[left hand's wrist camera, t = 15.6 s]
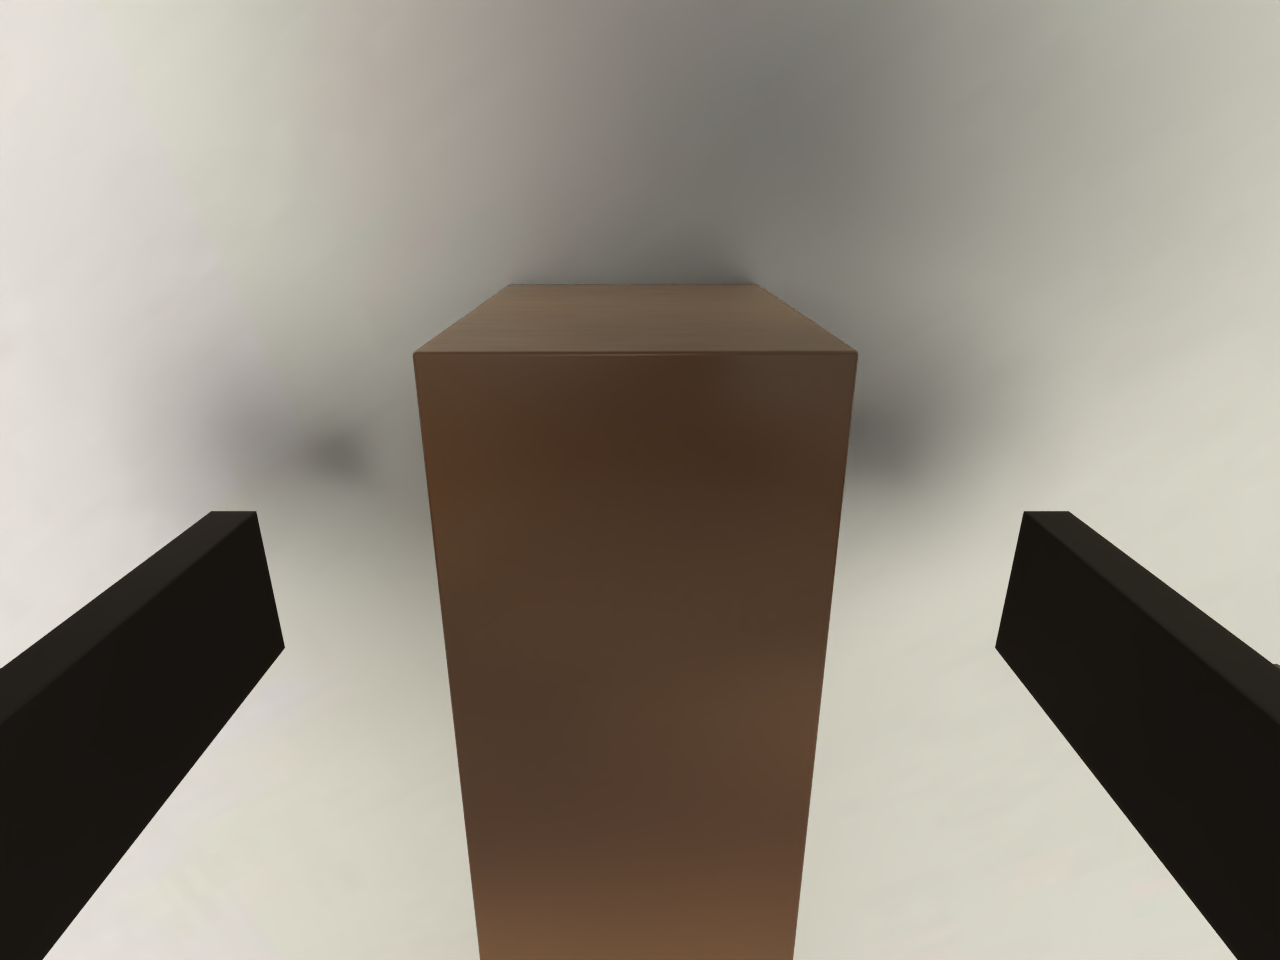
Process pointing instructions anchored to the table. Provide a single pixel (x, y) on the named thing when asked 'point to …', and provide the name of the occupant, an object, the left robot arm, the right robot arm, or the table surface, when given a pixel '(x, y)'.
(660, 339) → the post
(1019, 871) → the table surface
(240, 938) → the table surface
